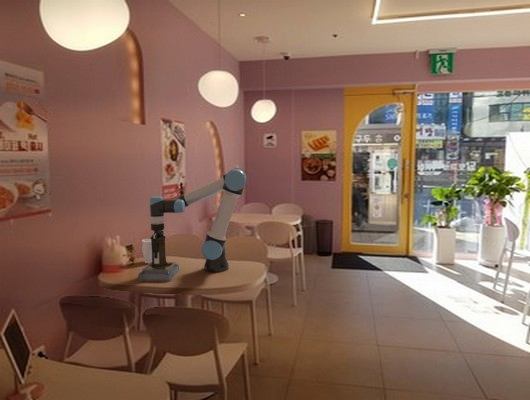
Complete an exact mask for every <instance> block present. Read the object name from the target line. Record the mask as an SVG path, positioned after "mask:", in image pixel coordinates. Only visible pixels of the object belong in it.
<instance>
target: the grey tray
mask: <svg viewBox="0 0 530 400" xmlns="http://www.w3.org/2000/svg"><path fill="white" fill-rule="evenodd" d="M166 262H167V263H166V264H167V267H165V268H161V269H154V268H152V262H151V263H147V265H146V266H145V267H143V268H142V270H141V271H140V272H139V273H138V275H137V276H138V279H137V281H138V282H171V281H172V279H173V278H174V277H175V276H176V275H177V274H178V273H179V272H180V264H179V263H176V262H174V261H173V262H171V261H166Z"/></svg>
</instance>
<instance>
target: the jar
mask: <svg viewBox="0 0 530 400" xmlns="http://www.w3.org/2000/svg"><path fill="white" fill-rule="evenodd" d="M141 243H142V245H141V251H142V255H143V258H144V263H145V264H149V263H151V262H152V245H151V244H152V242H151V237H150V238H143V239H142V240H141Z"/></svg>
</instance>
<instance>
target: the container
mask: <svg viewBox="0 0 530 400" xmlns="http://www.w3.org/2000/svg"><path fill="white" fill-rule="evenodd" d="M150 238H151V242H152V236H150ZM157 242H158V244H159V245H158V246H159V248H158V252H159V264H154V253H152V268H154V269H161V268H165V267H167V264H166V263H167V262H168V261H167V257H166V236H165V235H164V236H161V237H160V238H157ZM151 245H152V244H151Z"/></svg>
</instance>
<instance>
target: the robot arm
mask: <svg viewBox="0 0 530 400" xmlns="http://www.w3.org/2000/svg"><path fill="white" fill-rule="evenodd" d="M247 181H248V175H247V173H246V171H245V170H243V169H242V168H239V167H238V168H237V167H236V168H235V167H234V168H233V169H231V170H229V171H228V172H226V173H225V174H223V175H221V178H218V179H216V180H213V181H211V182H209V183H207V184H205V185H202V186H200V187H198V188H195V189H193V190H191V191H188V192H186V193H184V194H182V195H180V196H177V197H175V198H173V199H164V197H163V196H161V195H160V196H159V195H158V196H157V195H156V196H150V198H149V213H150V216H149V219H150V223H151V224H150V231H153V234H152V236H151V237H152V253H154V264H159V252H158V248H159V246H158V245H159V244H158V242H157V238H160V237H161V236H165V235H164V230H165V216H164V215H165V214H168V213H169V214H171V213H172V214H179V213H180V214H181V213H182V214H183V213H184V212H185V210H186V208H187V207H189V206H192V205H194V204H196V203H198V202H201V201H203V200H206V199H207V198H210V197H212V196H215V195H217V194H220V193H222V192H223V193H222V196H221V200H220V203H219V206H218V208H217V211H216V214H215V218H214V219H213V220H214V221H213V224H212V226H211V229H210V231H208V232H206V235H205V238H204V239H205V240H204V241H203V244H202V246H201V254H202V255H203V257H204V258H205V262H204V264H203V270H204V271H206V272H209V273H219V272H220V273H221V272H224V271H227V270H229V268H230V267H229V261H228V259H227V256H226V254H227V253H226V242H227V237H226V234H227V231H228V227H229V224H230V222H231V219H232V216H233V213H234V209H235V207H236V204H237V202H238V198H239V197H240V196H242V194H243V193H244V190H245V187H246V184H247Z"/></svg>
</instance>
